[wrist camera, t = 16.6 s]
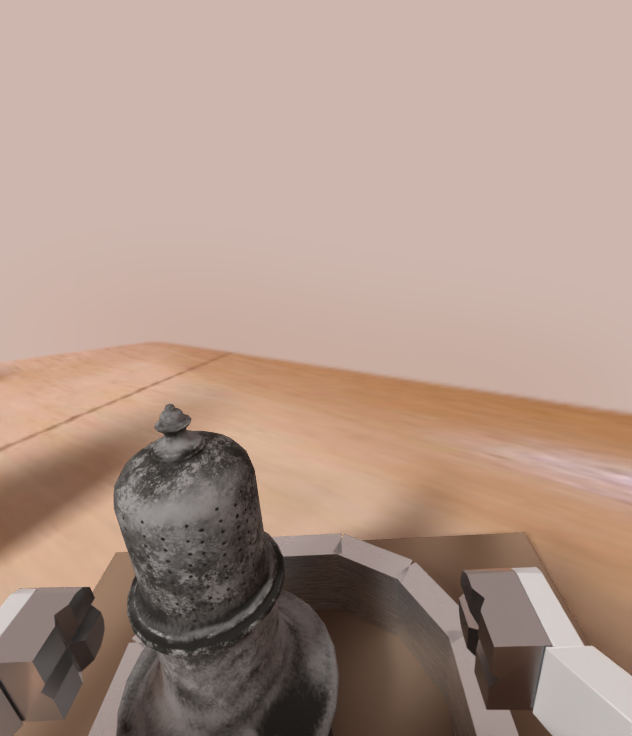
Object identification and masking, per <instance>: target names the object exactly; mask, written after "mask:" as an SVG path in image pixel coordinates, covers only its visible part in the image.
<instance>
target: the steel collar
mask: <svg viewBox="0 0 632 736" xmlns="http://www.w3.org/2000/svg"><path fill="white" fill-rule="evenodd" d="M272 538H273V539H274V541H275V542H276V543H277V544H278V546H279V548H280V550H281V553H282V555H283V558H284V569H285V578H284V582H283V586H282V590H285V591H288V592H291V593H293V594H294V595H295V596H297V597H298V598H300V599H301V600H303V601H304V602H306V603H307V604H308V605H310V606H311V608H312V609H313V610H321V609H344V610H346V611H348V612H350V613H352V614H354V615H356V616H358V617H360V618H362V619H364V620H366V621H368V622H370V623H372V624H374V625H376V626H378V627H381V628H383V629H385V630H387V631H389V632H391V633H393V634H395V635H397V636H399V638H400V639H401V640H402V642H403V643H404V644H405V646H406V647H407V648H408V649H409V651H410V652H411V653H412V655H413V656H414V657H415V659H416V660H417V661H418V663H419V664H420V665H421V666H422V668H423V669H424V670H425V672H426V673H427V674H428V676H429V677H430V678H431V679H432V681H433V682H434V683H435V685H436V686H437V687H438V689H439V690H440V691H441V692H442V694H443V695H444V696H445V698H446V701H447V706H448V710H449V714H450V718H451V722H452V726H453V731H454V735H455V736H519V735H518V732H517V729H516V727H515V724H514V721H513V718H512V715H511V713H510V710H486V707H485V704H484V701H483V698H482V694H481V691H480V688H479V685H478V682H477V679H476V676H475V673H474V669H475V656H474V655H473V654H472V653H471V652H470V651H469V650H468V649H467V647H466V644H465V640H464V637H463V633H462V629H461V624H460V617H459V606H458V605H457V604H456V603H455V602H454V601H453V599H452V598H451V597H450V596H449V595H448V594H447V593H446V592H445V591H444V590H443V589H442V588H441V587H440V586H439V585H438V584H437V583H436V582H435V581H434V580H433V579H432V578H431V577H430V576H429V575H428V574H427V573H426V572H425V571H424V570H423V569H422V568H421V567H420V566H419V565H418V564H417V563H416V562H415V563H414V564H412V560H411V559H408V558H406V557H403V556H401V555H398V554H395V553H393V552H390V551H387V550H385V549H382V548H380V547H377V546H374V545H372V544H369V543H366V542H364V541H361V540H359V539H356V538H353V537H351V536H348V535H345V534H344V536H343V537H342V538H341V534H324V535H304V536H284V537H272ZM132 640H133V642H134V643H129V644H128V646H127V648H126V651H125V653H124V655H123V657H122V660H121V662H120V664H119V667H118V669H117V671H116V673H115V676H114V678H113V680H112V682H111V685H110V687H109V689H108V692H107V694H106V696H105V698H104V701H103V703H102V705H101V707H100V710H99V712H98V714H97V717H96V719H95V721H94V723H93V726H92V728H91V730H90V733H89V735H88V736H116V731H117V712H118V709H119V705H120V702H121V698H122V695H123V691H124V688H125V684H126V681H127V679H128V677H129V675H130V673H131V671H132V669H133V667H134V665H135V663H136V662H137V660H138V658H139V656H140V654H141V652H142V651H143V649H144V648H145V647H146V645H145V644H144V643H143V642H142V641H141V640H140V639H139V638H138V637H137V636H136V635H135V636H134V637H133V638H132Z"/></svg>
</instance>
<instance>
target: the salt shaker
mask: <svg viewBox="0 0 632 736" xmlns="http://www.w3.org/2000/svg"><path fill="white" fill-rule="evenodd" d="M190 422H191V418H190V417H189V416H188V415H185V414H183V412H182V411H181V410H180V409H178V408H175V406H174V405H172V404H168V405H166V406H165V410H164V411H163V412H162V413H161V415H160V420H159V421H157V422H156V424H155V429H156V430H157V431H158V432H161V433H164V436H163V437H162V438H160V439H158V440H156V441H154V442H152V443H150V444H149V445H147V446H146V447H145V448H143V449H142V450H140V451H139V452H138V453H136V454H135V455H134V456H133V457H132V458H131V459H130V460H129V461H128V462H127V463H126V464H125V466H124V468H123V470H122V472H121V474H120V476H119V478H118V480H117V481H116V483H115V486H114V510H115V513H116V516H117V520H118V523H119V526H120V529H121V532H122V535H123V538H124V541H125V544H126V547H127V550H128V553H129V556H130V560H131V563H132V566H133V569H134V572H135V575H136V576H135V577H134V579H133V582H132V585H131V588H130V591H129V593H128V596H127V615H128V618H129V621H130V624H131V627H132V629H133V632H134V634H135V635H136V636H137V637H138V638H139V639H140V640H141V641H142V642H143V643H144V644H145V645H146V647H145V648H144V649H143V651H142V652H141V654H140V656H139V658H138V660H137V662H136V663H135V665H134V667H133V669H132V671H131V673H130V675H129V677H128V679H127V681H126V684H125V688H124V691H123V695H122V698H121V702H120V705H119V709H118V712H117V731H116V736H333V733H332V722H333V719H334V716H335V713H336V710H337V699H338V687H339V671H338V665H337V658H336V652H335V646H334V644H333V642H332V640H331V637H330V635H329V633H328V630H327V628H326V626H325V624H324V622H323V621H322V620H321V619H320V617H319V616H318V615H317V614H316V613H315V611H314V610H313V609H312V608H311V606H310V605H308V604H307V603H306V602H304V601H303V600H301V599H300V598H298V597H297V596H295V595H294V594H293V593H291V592H288V591H285V590H282V586H283V582H284V578H285V569H284V558H283V555H282V553H281V550H280V548H279V546H278V544H277V543H276V542H275V541H274V539H273V538H272V537H271V536H270V535H269V534H268V533H266V532H264V530H263V523H262V516H261V510H260V503H259V496H258V490H257V483H256V476H255V470H254V467H253V465H252V463H251V460H250V458H249V456H248V454H247V451H246V450H245V449H244V448H242V447H241V446H240V445H239V444H238V443H236V442H235V441H234V440H232V439H231V438H229V437H227V436H225V435H222V434H218V433H213V432H206V431H190V430H186V427H187V426H188V425H189V424H190Z"/></svg>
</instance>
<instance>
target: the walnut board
mask: <svg viewBox="0 0 632 736" xmlns="http://www.w3.org/2000/svg"><path fill="white" fill-rule="evenodd" d="M362 541H364V542H366V543H369V544H372V545H374V546H377V547H380V548H382V549H385V550H387V551H390V552H393V553H395V554H398V555H401V556H403V557H406V558H408V559H411V560H412V564H414V563H415V562H416V563H417V564H418V565H419V566H420V567H421V568H422V569H423V570H424V571H425V572H426V573H427V574H428V575H429V576H430V577H431V578H432V579H433V580H434V581H435V582H436V583H437V584H438V585H439V586H440V587H441V588H442V589H443V590H444V591H445V592H446V593H447V594H448V595H449V596H450V597H451V598H452V599H453V601H454V602H455V603H456V604H457V605H458V606H459V597H460V596H461V595H462V594H463V590H462V587H461V584H460V579H461V573H462V571H463V570H476V569H494V568H510V569H511V568H524V567H537V568H538V569H539V570H540V571H541V572H542V573H543V575H544V577H545V578H546V580H547V582H548V584H549V585H550V587H551V589H552V590H553V592H554V594H555V596H556V597H557V599H558V601H559V602H560V604H561V606H562V608H563V609H564V611H565V613H566V614H567V616H568V618H569V620H570V621H571V623H572V625H573V626H574V628H575V630H576V632H577V633H578V635H579V637H580V638H581V640H582V642H583V644H584V645H585V646H591V645H590V644H589V642H588V640H587V638H586V637H585V635H584V633H583V632H582V630H581V628H580V627H579V625H578V623H577V621H576V620H575V618H574V616H573V615H572V613H571V611H570V610H569V608H568V606H567V605H566V603H565V601H564V599H563V598H562V596H561V594H560V593H559V591H558V589H557V588H556V586H555V584H554V583H553V581H552V579H551V577H550V576H549V574H548V572H547V571H546V569H545V567H544V566H543V564H542V562H541V561H540V559H539V557H538V555H537V554H536V552H535V550H534V549H533V547H532V545H531V544H530V542H529V540H528V539H527V537H526V535H525V533H505V534H484V535H464V536H444V537H423V538H403V539H383V540H362ZM135 576H136V575H135V572H134V569H133V566H132V563H131V560H130V556H129V553H128V552H118V553H115V555H114V557H113V558H112V560H111V562H110V564H109V565H108V567H107V569H106V570H105V572H104V574H103V575H102V577H101V579H100V581H99V582H98V584H97V586H96V587H95V589H94V591H93V592H92V593H93V595H94V597H95V599H94V601H93V602H92V604H91V605H92V606H94V607H95V608H96V609H98V610H99V611H101V613H102V616H103V618H104V627H105V631H104V636H103V640H102V645H101V647H100V649H99V651H98V654H97V656H96V658H95V660H94V661H93V662H92V663H91V664H90V665H88V666H87V667H86V668H85V669H84V670H83V671H82V679H83V684H82V686H81V688H80V690H79V692H78V694H77V696H76V698H75V700H74V702H73V704H72V706H71V708H70V710H69V712H68V714H67V716H66V718H65V720H53V721H36V722H22V723H23V726H22V727H21V728H20V729H19V730H18V731H17V732H16V733H15V734H14V735H13V736H88V735H89V733H90V730H91V728H92V726H93V723H94V721H95V719H96V717H97V714H98V712H99V710H100V707H101V705H102V703H103V701H104V698H105V696H106V694H107V692H108V689H109V687H110V685H111V682H112V680H113V678H114V676H115V673H116V671H117V669H118V667H119V664H120V662H121V660H122V657H123V655H124V653H125V651H126V648H127V646H128V644H129V643H134V642H133V640H132V638H133V637H134V636H135V634H134V632H133V629H132V627H131V624H130V621H129V618H128V615H127V596H128V593H129V591H130V588H131V585H132V582H133V579H134V577H135ZM314 611H315V613H316V614H317V615H318V616H319V617H320V619H321V620H322V621H323V622H324V624H325V626H326V628H327V630H328V633H329V635H330V637H331V640H332V642H333V644H334V646H335V652H336V658H337V665H338V671H339V687H338V699H337V710H336V713H335V716H334V719H333V722H332V733H333V736H455V735H454V731H453V726H452V722H451V718H450V714H449V710H448V706H447V701H446V698H445V696H444V695H443V694H442V692H441V691H440V690H439V689H438V687H437V686H436V685H435V683H434V682H433V681H432V679H431V678H430V677H429V676H428V674H427V673H426V672H425V670H424V669H423V668H422V666H421V665H420V664H419V663H418V661H417V660H416V659H415V657H414V656H413V655H412V653H411V652H410V651H409V649H408V648H407V647H406V646H405V644H404V643H403V642H402V640H401V639H400V638H399V636H397V635H395V634H393V633H391V632H389V631H387V630H385V629H383V628H381V627H378V626H376V625H374V624H372V623H370V622H368V621H366V620H364V619H362V618H360V617H358V616H356V615H354V614H352V613H350V612H348V611H346V610H344V609H321V610H314ZM510 713H511V715H512V718H513V721H514V724H515V727H516V729H517V732H518V735H519V736H552V735H551V734H550V732H549V731H548V730H547V729H546V728H545V727H544V725H543V724H542V723H541V722H540V721H539V720H538V719H537V717H536V716H535V715H534V714H533V710H510Z"/></svg>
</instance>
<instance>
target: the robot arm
mask: <svg viewBox="0 0 632 736" xmlns="http://www.w3.org/2000/svg"><path fill="white" fill-rule="evenodd" d="M460 584H461V587H462V590H463V594H462V595H461V596H460V597H459V617H460V624H461V629H462V633H463V637H464V640H465V644H466V647H467V649H468V650H469V651H470V652H471V653H472V654H473V655H474V656H475V669H474V673H475V676H476V679H477V682H478V685H479V688H480V691H481V694H482V698H483V701H484V704H485V707H486V710H533V714H534V715H535V716H536V717H537V719H538V720H539V721H540V722H541V723H542V724H543V725H544V727H545V728H546V729H547V730H548V731H549V732H550V734H551V735H552V736H632V676H631V675H630V674H629V673H628V672H626V671H625V670H624V669H622V668H621V667H620V666H618V665H617V664H616V663H615V662H613V661H612V660H611V659H609V658H608V657H607V656H606V655H604V654H603V653H602V652H600V651H599V650H598V649H597V648H595V647H594V646H585V645H584V644H583V642H582V640H581V638H580V637H579V635H578V633H577V632H576V630H575V628H574V626H573V625H572V623H571V621H570V620H569V618H568V616H567V614H566V613H565V611H564V609H563V608H562V606H561V604H560V602H559V601H558V599H557V597H556V596H555V594H554V592H553V590H552V589H551V587H550V585H549V584H548V582H547V580H546V578H545V577H544V575H543V573H542V572H541V571H540V570H539V569H538V568H537V567H524V568H511V569H510V568H494V569H476V570H463V571H462V573H461V579H460ZM94 599H95V597H94V595H93V593H92V591H91V589H90V587H55V588H20V589H18V590H17V591H15V592H14V593H12V594H11V595H10V596H9V597H8V598H7V600H6V601H5V602H4V603H3V605H2V606H1V607H0V736H13V735H14V734H15V733H16V732H17V731H18V730H19V729H20V728H21V727H22V726H23V723H22V722H36V721H53V720H65V718H66V716H67V714H68V712H69V710H70V708H71V706H72V704H73V702H74V700H75V698H76V696H77V694H78V692H79V690H80V688H81V686H82V684H83V679H82V671H83V670H84V669H85V668H86V667H87V666H88V665H90V664H91V663H92V662H93V661H94V660H95V658H96V656H97V654H98V651H99V649H100V647H101V645H102V640H103V636H104V631H105V627H104V618H103V616H102V613H101V611H99V610H98V609H96V608H95V607H94V606H92V605H91V604H92V602H93V601H94Z"/></svg>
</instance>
